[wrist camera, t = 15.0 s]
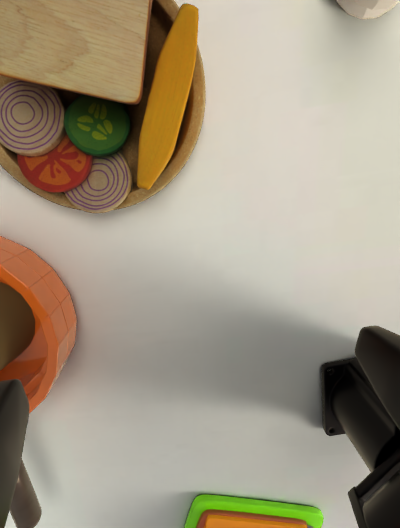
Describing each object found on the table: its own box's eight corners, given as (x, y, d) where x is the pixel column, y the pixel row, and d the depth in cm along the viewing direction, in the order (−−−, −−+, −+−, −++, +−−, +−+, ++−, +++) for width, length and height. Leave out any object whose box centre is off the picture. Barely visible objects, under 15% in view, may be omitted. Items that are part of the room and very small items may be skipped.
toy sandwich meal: (-40, 170, 18) (-112, 169, 14) (-3, -111, 15) (-82, -236, 10) (167, 234, 20) (165, 252, 15) (240, -2, 17) (264, -68, 12)
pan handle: (47, 510, 23) (38, 534, 21) (25, 514, 23) (14, 538, 21) (6, 401, 20) (-9, 420, 18) (-19, 405, 20) (-36, 424, 18)
